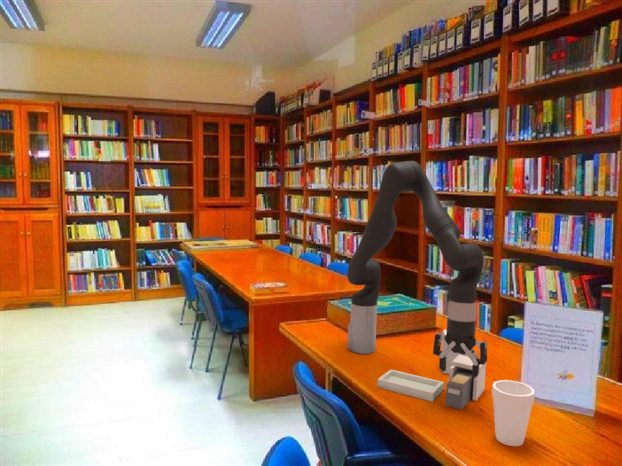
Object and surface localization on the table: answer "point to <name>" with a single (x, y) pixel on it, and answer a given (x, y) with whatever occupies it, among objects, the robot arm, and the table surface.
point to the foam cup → (511, 410)
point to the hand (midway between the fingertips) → (458, 374)
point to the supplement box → (448, 355)
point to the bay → (466, 364)
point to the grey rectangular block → (459, 389)
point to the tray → (411, 385)
